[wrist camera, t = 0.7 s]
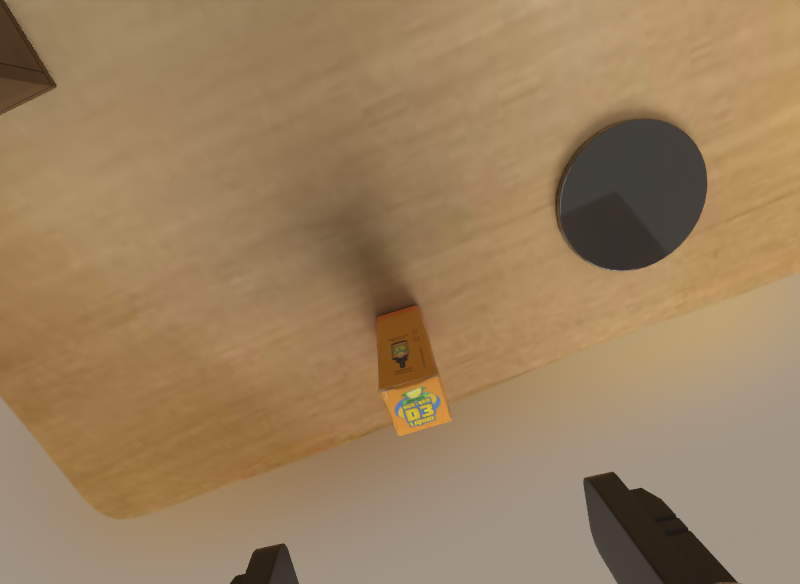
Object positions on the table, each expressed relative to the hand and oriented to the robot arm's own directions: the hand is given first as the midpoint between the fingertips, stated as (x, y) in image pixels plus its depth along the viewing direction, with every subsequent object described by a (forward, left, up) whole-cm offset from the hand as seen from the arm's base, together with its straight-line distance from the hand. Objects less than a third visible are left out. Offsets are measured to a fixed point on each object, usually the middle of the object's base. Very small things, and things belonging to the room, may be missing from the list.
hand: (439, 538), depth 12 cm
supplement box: (+3, 0, -21) cm, 22 cm away
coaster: (-5, +16, -21) cm, 27 cm away
